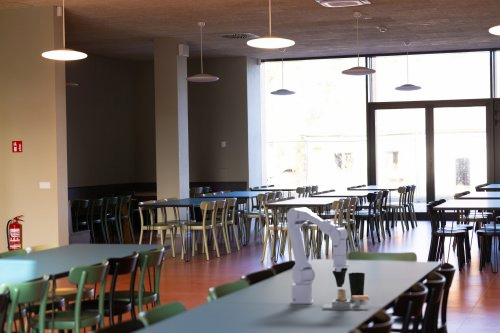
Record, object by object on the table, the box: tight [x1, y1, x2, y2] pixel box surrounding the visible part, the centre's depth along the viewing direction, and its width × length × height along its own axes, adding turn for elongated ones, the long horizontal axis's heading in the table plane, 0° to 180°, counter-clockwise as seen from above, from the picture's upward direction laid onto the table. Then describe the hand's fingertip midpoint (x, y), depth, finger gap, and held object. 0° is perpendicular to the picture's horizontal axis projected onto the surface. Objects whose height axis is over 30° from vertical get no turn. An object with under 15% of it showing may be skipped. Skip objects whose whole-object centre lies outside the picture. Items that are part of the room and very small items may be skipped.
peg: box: [337, 288, 347, 301], centre depth 352 cm, size 4×4×7 cm
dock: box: [322, 297, 361, 311], centre depth 352 cm, size 16×10×5 cm, turn 80°
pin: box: [351, 295, 369, 301], centre depth 350 cm, size 7×2×2 cm, turn 80°
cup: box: [348, 272, 366, 300], centre depth 372 cm, size 8×8×12 cm
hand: (340, 285), depth 352 cm, fingers open, 7 cm apart
